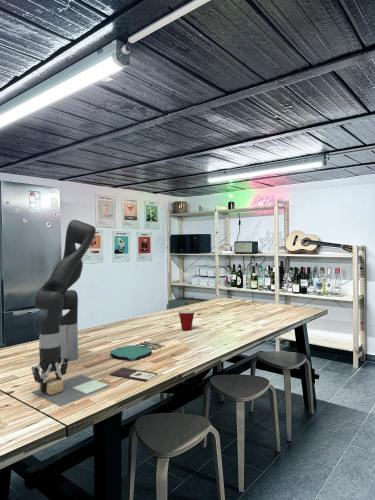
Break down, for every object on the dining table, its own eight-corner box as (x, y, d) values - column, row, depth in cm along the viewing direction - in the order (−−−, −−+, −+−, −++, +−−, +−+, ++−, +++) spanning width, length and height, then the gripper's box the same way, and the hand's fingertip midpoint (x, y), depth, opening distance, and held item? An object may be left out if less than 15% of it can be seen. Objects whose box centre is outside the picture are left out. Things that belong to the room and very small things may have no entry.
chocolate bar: (122, 367, 160) (157, 373, 152) (122, 369, 160) (157, 375, 152) (109, 374, 152) (145, 380, 144) (109, 376, 152) (145, 382, 144)
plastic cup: (195, 327, 234) (195, 309, 233) (194, 331, 223) (194, 312, 223) (179, 327, 235) (178, 309, 234) (177, 331, 224) (176, 312, 224)
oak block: (39, 389, 135) (39, 380, 135) (51, 385, 139) (51, 376, 139) (50, 394, 130) (50, 385, 130) (63, 390, 134) (63, 380, 134)
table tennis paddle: (102, 356, 177) (102, 352, 177) (142, 343, 202) (142, 339, 202) (132, 364, 166) (132, 359, 166) (170, 348, 191) (170, 344, 191)
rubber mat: (30, 393, 134) (30, 391, 134) (81, 376, 151) (81, 374, 151) (60, 408, 122) (60, 406, 122) (111, 387, 139) (111, 385, 139)
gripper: (61, 338, 142) (62, 381, 142) (26, 347, 131) (27, 393, 131) (72, 341, 137) (73, 385, 138) (36, 351, 126) (38, 399, 127)
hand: (51, 389), depth 134 cm, fingers closed on oak block, 5 cm apart
